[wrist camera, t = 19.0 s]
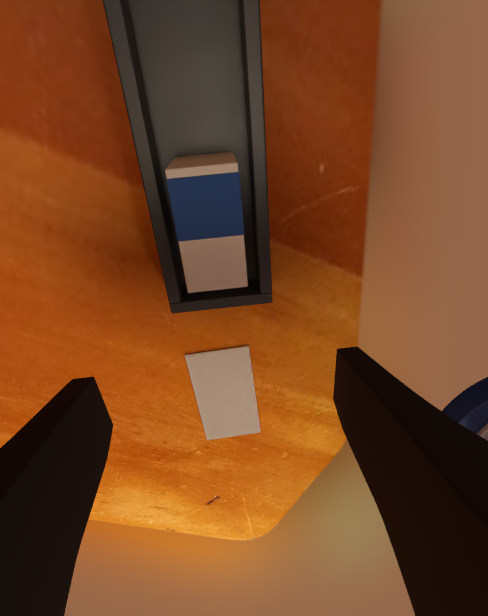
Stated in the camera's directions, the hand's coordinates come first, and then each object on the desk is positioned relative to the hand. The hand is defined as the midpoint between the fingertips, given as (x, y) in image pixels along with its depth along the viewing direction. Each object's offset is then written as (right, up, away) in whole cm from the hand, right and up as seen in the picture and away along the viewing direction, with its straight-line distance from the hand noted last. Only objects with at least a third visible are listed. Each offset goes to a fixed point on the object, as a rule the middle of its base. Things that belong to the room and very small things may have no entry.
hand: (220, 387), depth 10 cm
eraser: (-1, +7, +6) cm, 9 cm away
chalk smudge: (-1, -4, +13) cm, 13 cm away
